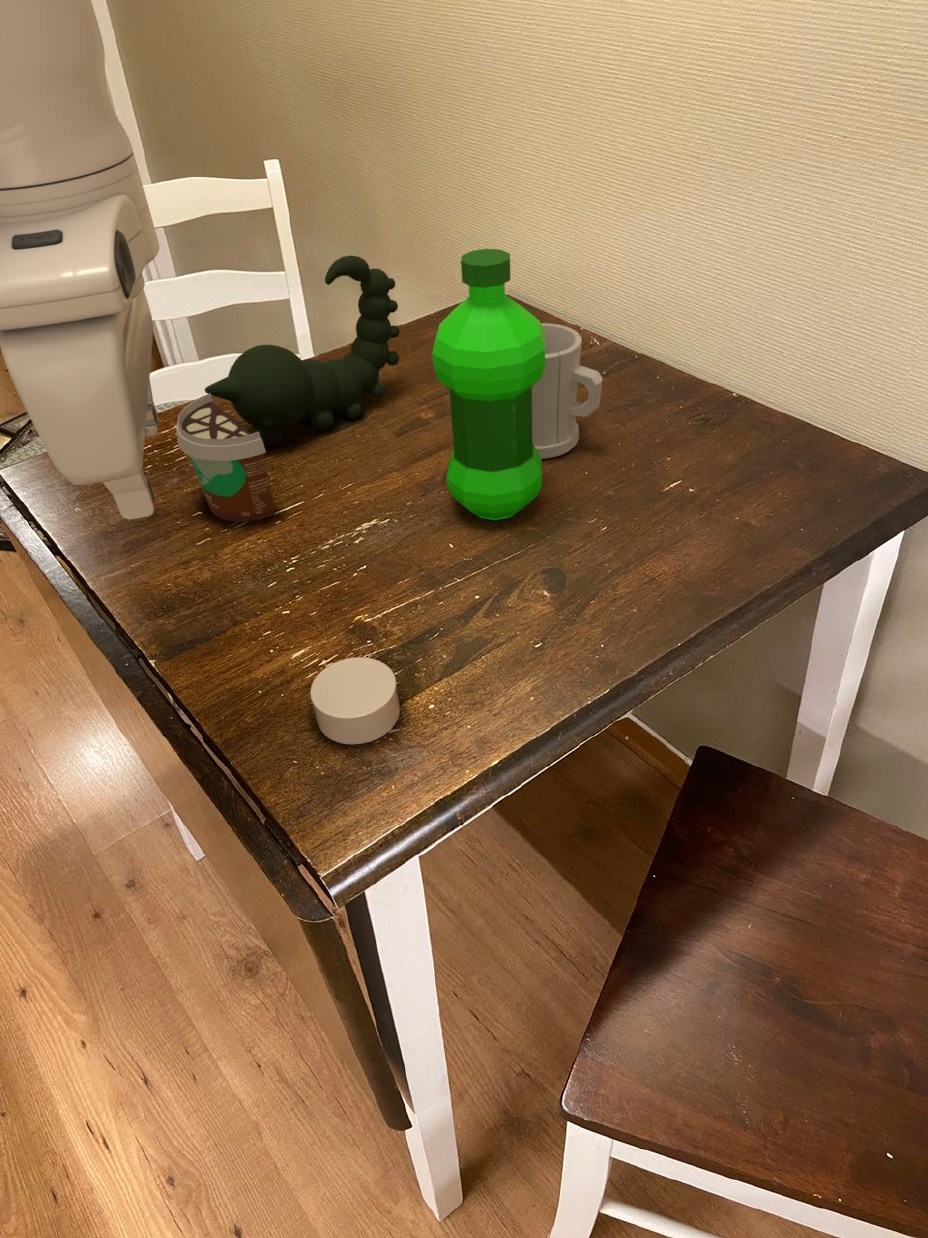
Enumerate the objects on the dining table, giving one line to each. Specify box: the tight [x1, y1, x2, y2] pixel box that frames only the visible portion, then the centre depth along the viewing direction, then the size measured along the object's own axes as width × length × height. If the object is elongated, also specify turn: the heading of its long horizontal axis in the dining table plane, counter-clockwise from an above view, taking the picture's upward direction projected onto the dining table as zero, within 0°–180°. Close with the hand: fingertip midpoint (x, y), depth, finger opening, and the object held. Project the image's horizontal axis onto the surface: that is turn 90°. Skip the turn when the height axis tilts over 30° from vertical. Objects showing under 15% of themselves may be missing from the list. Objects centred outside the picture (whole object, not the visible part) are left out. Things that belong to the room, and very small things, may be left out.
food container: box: [176, 393, 276, 522], centre depth 90 cm, size 12×6×10 cm, turn 37°
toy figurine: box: [204, 255, 401, 446], centre depth 101 cm, size 9×19×25 cm
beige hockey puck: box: [310, 656, 401, 745], centre depth 69 cm, size 7×7×3 cm
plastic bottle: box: [431, 248, 545, 521], centre depth 83 cm, size 10×10×25 cm
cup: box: [532, 322, 604, 460], centre depth 96 cm, size 10×9×12 cm
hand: (143, 469), depth 53 cm, fingers open, 8 cm apart
